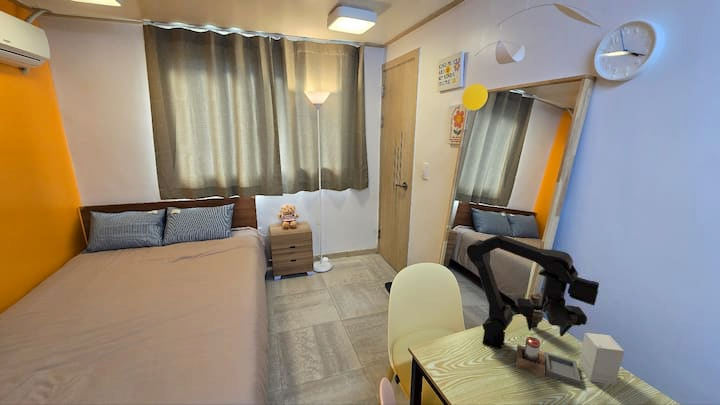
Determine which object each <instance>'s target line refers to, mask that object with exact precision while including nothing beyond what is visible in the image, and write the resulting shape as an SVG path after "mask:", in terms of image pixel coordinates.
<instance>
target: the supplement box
mask: <svg viewBox="0 0 720 405" xmlns="http://www.w3.org/2000/svg"><path fill="white" fill-rule="evenodd" d="M624 352H625V350H624V349H623V348H622V347H621V346H620V345H619V343H617V342H616V341H615V340H614V338H612V336H611V335H607V334H601V333H593V332H592V333H589V332H585V333H584V336H583V342H582V346H581V351H580V356H579V360H578V366H579V367H580V368H581V370H582V372H583V373H584V374H585V376H586V377H587V379H588V380H589V381H590V382H593V383H601V384H605V385H606V384H607V385H617V380H618V376H619V373H620V368H621V365H622V360H623V357H624V354H625V353H624Z"/></svg>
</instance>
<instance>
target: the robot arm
mask: <svg viewBox="0 0 720 405" xmlns="http://www.w3.org/2000/svg"><path fill="white" fill-rule="evenodd" d="M496 249H499V250H503V251H505V252H508V253H511V254H513V255H516V256H518V257H522V258H524V259H526V260H529V261H532V262H533V263H536V264H537V265H539V266H540V267H541V269H540V271H539V272H538V275H539V276H542V277H545V279H544V284H543V287H541V289H540V291H541V294H542V297H541V299H539V302H540V305H535V304H532V303H531V301H530V299H531V298H529V299H528V298H523V297H517V298H516V299H515V306H516V309H517V311H518V314H520V315H521V316H523V317H525V320H526V325H527V329H528V331H529V332H530V331H531V330H532V327H531V326H532V319H533V318H534V317H533V313H534V311H537V312H542V313H543V314H544V313H545V314H546V318H547V322H548V324H549V325H551V326H557V327H559V336H560V337H563V336H564V335H565V334H566V333H567V332H568V330H570V329H571V328H572V327H574V326H579V327H580V326H582V325H583V326H586V324H587V323H588V322H587V321H588V316H587V315H586V314H585V312H584V311H583V309H582V308H581V307H579V306H575V305H568V304H567V305H566V299H565V294H566V290H567V294H568V296H569V298H571V299H573V300H577V301H579V302H582V303H584V304H588V305H591V306H593V307H594V306H595V305H596V302H597V298H598V294H599V287H600V282H598V281H594V280H589V279H585V278H582V277H579V272H578V271H577V269H576V267H575V266H574V260H573V258H572V256H571V255H570V254H569V253H568V252H565V251H562V250H557V249H549V248H548V249H546V248H544V249H543V248H539V247H536V246H534V245H531V244H528V243H525V242H523V241H520V240H517V239H514V238H511V237H509V236H505V235H503V234H500V233H499V234H498V233H497V234H496V235H494V236H491V237H489V238H487V239H485V240H482V239H479V240H476V241H474V242H473V243H471V244H469V246H467V249H466V251H465V252H466V255H467V257H468V258H469V261H470V262H471V264H472V265H474V267H476V270H477V273H478V276H479V278H480V281H481V284H482V287H483V291H484V293H485V297H486V299H487V303H488V317H487V319H486V320H485V321H484V322H483V323H482V330H484V331H483V338H482V344H483V345H486V346H489V347H492V348H495V349H498V350H502V349H503V346H505V344H504V343H505V337H506V336H505V335H506V332H505V331H506V330H507V328H508V327H509V326H510V324H511V323H512V321H513V317H514V313H513V311H512V307H511V305H510V304H506V303H505V302H504V301H503V300H502V297H501V296H502V295H501V293H500V290H499V288H498V285H497V281H496V277H495V276H494V272H493V270H492V266H491V252H492V251H494V250H496ZM567 285H569V286H567ZM567 287H568V289H567Z"/></svg>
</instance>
